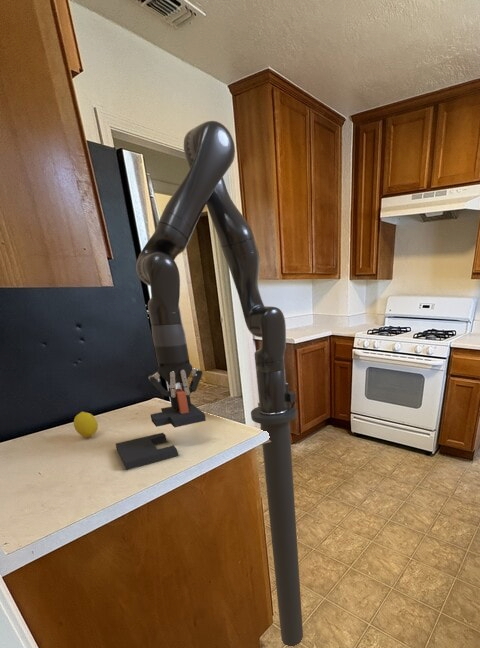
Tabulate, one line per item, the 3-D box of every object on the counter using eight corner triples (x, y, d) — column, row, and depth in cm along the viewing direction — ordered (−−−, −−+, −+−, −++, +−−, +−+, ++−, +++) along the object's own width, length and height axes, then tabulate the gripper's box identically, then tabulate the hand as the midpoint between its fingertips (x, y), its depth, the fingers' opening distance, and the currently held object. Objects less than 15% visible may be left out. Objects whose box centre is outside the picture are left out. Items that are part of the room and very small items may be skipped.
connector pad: (191, 409, 102) (187, 384, 99) (205, 420, 93) (201, 393, 90) (148, 417, 95) (142, 391, 92) (159, 431, 86) (153, 401, 83)
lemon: (74, 440, 101) (65, 414, 98) (91, 433, 106) (83, 407, 103) (88, 442, 99) (80, 415, 96) (105, 434, 104) (98, 409, 101)
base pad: (164, 438, 101) (163, 432, 100) (178, 456, 90) (176, 448, 89) (117, 450, 94) (115, 443, 93) (126, 470, 84) (124, 462, 83)
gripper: (143, 347, 81) (158, 418, 87) (202, 341, 88) (212, 407, 95) (136, 344, 86) (151, 410, 93) (193, 338, 94) (203, 401, 101)
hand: (182, 408), depth 94 cm, fingers closed on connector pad
